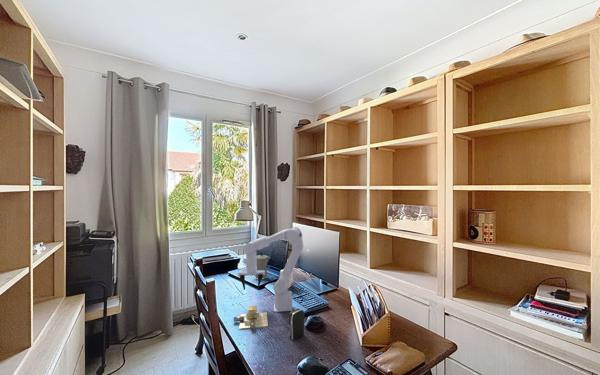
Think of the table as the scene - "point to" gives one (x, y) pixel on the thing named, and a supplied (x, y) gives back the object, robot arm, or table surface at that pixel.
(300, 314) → the battery charger
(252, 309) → the coupling block
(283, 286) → the robot arm
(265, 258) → the coffeepot
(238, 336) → the table surface
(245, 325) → the cream square socket base
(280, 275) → the ink cartridge box
